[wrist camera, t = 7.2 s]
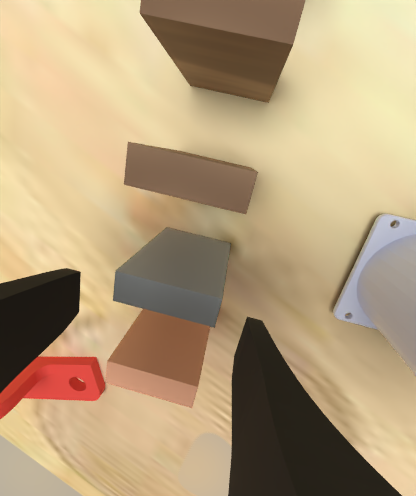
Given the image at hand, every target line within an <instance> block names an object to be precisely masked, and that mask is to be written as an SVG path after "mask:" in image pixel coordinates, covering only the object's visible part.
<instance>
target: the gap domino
mask: <svg viewBox="0 0 416 496" xmlns="http://www.w3.org/2000/svg"><path fill="white" fill-rule="evenodd" d="M230 246H231V243H228V242H224V241H220V240H216V239H212V238H208V237H204V236H200V235H196V234H192V233H188V232H184V231H180V230H176V229H172V228H167V227H166V228H165V229H164V230H163V231H162V232H161V233H159V234H158V235H157V236H156V237H155V238H154V239H152V240H151V241H150V242H149V243H148V244H147V245H145V246H144V247H143V248H142V249H141V250H140V251H138V252H137V253H136V254H135V255H134V256H133V257H131V258H130V259H129V260H128V261H127V262H126V263H124V264H123V265H122V266H121V267H120V268H119V269H117V270H116V272H115V283H114V295H113V301H117V302H120V303H124V304H128V305H132V306H135V307H139V308H143V309H147V310H150V311H154V312H158V313H162V314H165V315H169V316H173V317H177V318H180V319H184V320H188V321H192V322H195V323H199V324H203V325H207V326H210V327H214V328H215V324H216V320H217V317H218V313H219V309H220V306H221V302H222V298H223V291H224V285H225V278H226V272H227V265H228V259H229V252H230Z"/></svg>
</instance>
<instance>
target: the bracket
mask: <svg viewBox="0 0 416 496" xmlns="http://www.w3.org/2000/svg"><path fill="white" fill-rule="evenodd" d="M77 377H78V378H80V379H82V380H83V381H84V382H85V383H84V382H81V381H80V380H78V379H77ZM104 389H105V383H104V380H103V377H102V373H101V370H100V367H99V364H98V361H97V358H96V357H37V358H36V359H34V360H33V361H32V362H31V363H30V364H29V365H28V366H27V367H26V368H25V369H24V370H23V371H22V372H21V373H20V374H19V375H18V376H17V377H16V378H15V379H14V380H13V381H12V382H11V383H10V384H9V385H8V386H7V387H6V388H5V389H4V390H3V391H2V392H1V393H0V419H1V418H3V417H4V416H5V415H6V414H7V413H8V412H10V411H11V410H12V409H13V408H14V407H15V406H16V405H17V404H18V403H19V401H20V400H21V399H22V398H33V399H58V400H84V401H95V400H97V399H99V397H100V395H101V394H102V392H103V391H104Z"/></svg>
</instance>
